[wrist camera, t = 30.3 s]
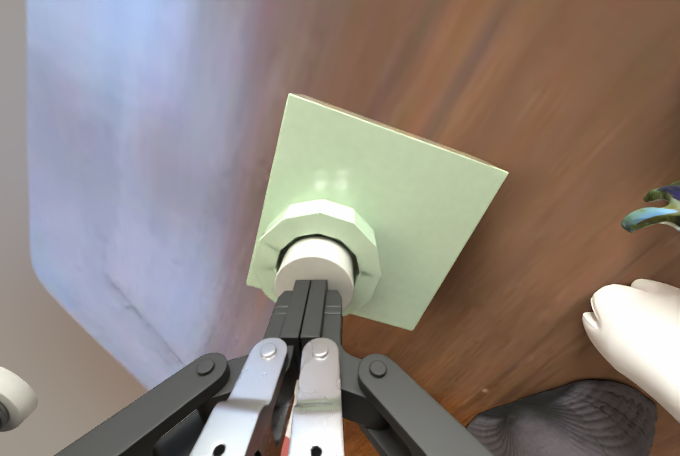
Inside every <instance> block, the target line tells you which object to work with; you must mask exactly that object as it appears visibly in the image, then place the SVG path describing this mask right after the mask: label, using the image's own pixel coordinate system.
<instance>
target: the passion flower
mask: <svg viewBox="0 0 680 456" xmlns="http://www.w3.org/2000/svg"><path fill="white" fill-rule="evenodd" d="M660 200H664V201H667V202H669V205H668V206H666V207H662V208H655V207H648V208H642V209H638V210H636V211H634V212H632V213H630V214H629V215H627V216H626V217H625V218H624V219H623V221H622V223H621V226H622V227H623V228H624V229H625V230H627V231H628V232H630V233H632V232H633V231H636V230H638V229H640V228H645V227H648V226H651V225H654V224H657V223H662V224H667V225H670V226H672V227H674V228H676V229H677V230H678V231H679V232H680V181H675V182H673V183H672V184H669V185H665V186H663V187H660V188H657V189H653V190H650V191H649V192H648V193H647V195H646V196H645V197H644V201H645V202H658V201H660Z"/></svg>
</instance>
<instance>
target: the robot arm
mask: <svg viewBox="0 0 680 456" xmlns="http://www.w3.org/2000/svg"><path fill="white" fill-rule="evenodd" d="M342 326H343V318H342V297H341V295H340V293H339V292H338V290H328V281H327V280H312V281H311V280H296V281H295V284H294V288H293V291H284V292H283V293H282V294H281V295H280V296H279V297H278V299H277V302H276V305H275V308H274V310H273V314H272V316H271V319H270V321H269V324H268V327H267V330H266V333H265V335H264V338H263V340H262V341H260V342H258V343H257V344H256V345H255V346H254V347H253V348H252V350H251V352H250V354H248V355H246V356H243V357H240V358H236V359H232V360H229V361H227V360H226V357H225V356H224V355H222V354H220V353H209V354H205V355H203V356H201V357H199V358H198V359H196V360H195V361H193V362H192V363H190V364H189V365H187V366H186V367H184V368H183V369H181V370H180V371H178V372H177V373H175V374H174V375H172V376H171V377H169V378H168V379H166V380H165V381H163V382H162V383H161V384H159V385H158V386H156V387H155V388H153V389H152V390H150V391H149V392H147V393H146V394H144V395H143V396H141V397H140V398H138V399H137V400H135V401H134V402H132V403H131V404H129V405H128V406H127V407H125V408H124V409H122V410H121V411H119V412H118V413H116V414H115V415H113V416H112V417H110V418H109V419H107V420H106V421H104V422H103V423H101V424H100V425H98V426H97V427H95V428H94V429H92V430H91V431H90V432H88V433H87V434H85V435H84V436H82V437H81V438H79V439H78V440H76V441H75V442H74V443H72V444H70V445H69V446H67V447H66V448H64V449H63V450H62V451H60V452H58V453H57V454H56V455H54V456H281V451H282V446H283V442H284V439H285V435H286V431H287V427H288V423H289V419H290V415H291V411H292V407H293V403H294V399H295V394H294V391H295V386H296V381H297V380H299V387H298V397H297V404H296V405H295V406H294V409H293V415H292V424H291V433H290V443H289V452H288V456H344V442H343V422H342V417H343V418H345V419H348V420H350V421H353V422H355V423H358V424H359V426H360V428H361V430H362V431H363V433H364V434H365V436H366V437H367V438H368V440H369V441H370V442H371V444H372V445H373V446H374V448H375V449H376V450H377V452H378V453H379V454H380V456H494V455H493V454H492V453H491V452H490V451H489V450H488V449H487V448H486V447H485V446H484V445H483V444H482V443H481V442H479V441H478V440H477V439H476V438H475V437H474V436H473V435H472V434H471V433H470V432H469V431H468V430H467V429H466V428H464V427H463V426H462V425H461V424H460V423H459V422H458V421H457V420H456V419H455V418H454V417H453V416H452V415H451V414H449V413H448V412H447V411H446V410H445V409H444V408H443V407H442V406H441V405H440V404H439V403H438V402H437V401H435V400H434V399H433V398H432V397H431V396H430V395H429V394H428V393H427V392H426V391H425V390H424V389H423V388H422V387H420V386H419V385H418V384H417V383H416V382H415V381H414V380H413V379H412V378H411V377H410V376H409V375H408V374H407V373H405V372H404V371H403V370H402V369H401V368H400V367H399V366H398V365H397V364H396V363H395V362H394V361H393V360H391V359H390V358H389V357H387V356H385V355H381V354H371V355H368V356H366V357H364V358H363V359H359V358H356V357H353V356H351V355H349V354H348V353H347V352H345V350H344V349H343V348H342ZM195 409H197V410H195ZM194 410H195V411H194ZM193 411H194V412H193ZM192 412H193V413H192ZM190 413H192V414H190ZM189 414H190V415H189ZM188 415H189V416H188ZM187 416H188V417H187ZM186 417H187V418H186ZM184 418H185V419H184ZM9 419H10V414H9V411H8V410H7V408H6V407H5V406H4V404H3V403H2V402H0V429H1V428H2V427H3V426H4V425H5V424H7V423H8V421H9ZM183 419H184V420H183ZM182 420H183V421H182ZM181 421H182V422H181ZM179 422H180V423H179ZM178 423H179V424H178ZM177 424H178V425H177ZM176 425H177V426H176ZM174 426H175V427H174ZM173 427H174V428H173ZM172 428H173V429H172ZM170 429H172V430H170ZM169 430H170V431H169ZM168 431H169V432H168ZM167 432H168V433H167ZM166 433H167V434H166ZM164 434H166V435H164ZM163 435H164V436H163ZM162 436H163V437H162ZM161 437H162V438H161Z"/></svg>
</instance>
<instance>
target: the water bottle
mask: <svg viewBox="0 0 680 456" xmlns="http://www.w3.org/2000/svg"><path fill="white" fill-rule="evenodd" d="M591 305H592V309H593V311H594V312H585V313H583V316H582V322H583V325H584V328H585V331H586V333H587V335H588V337H589V339H590V340H591V342H592V343H593V345H594V346H595V348H596V349H597V350H598V351H599V352H600V354H601V355H602V356H603V357H604V358H605V359H606V360H607V361H608V362H609V363H610V364H611V365H612V366H613V367H614V368H615V369H616V370H617V371H618V372H620V373H621V374H623V375H624V376H626V377H627V378H629V379H630V380H631V381H633V382H634V383H635V384H636V385H638V386H639V387H640V388H642V389H643V390H644V391H645V392H646V393H648V394H649V395H650V396H651V397H652V398H654V399H655V400H656V401H657V402H658V403H659V404H660V405H661V406H662V407H664V408H665V409H666V410H667V411H668V412H669V413H670V414H671V415H672V416H673V417H674V418H675V419H676V420H677V421H678V422H679V423H680V289H679V288H676V287H674V286H671V285H668V284H665V283H661V282H657V281H652V280H646V279H637V280H635V281H634V282H633V283H632V284H631V287H629V286H624V285H618V284H612V285H608V286H604V287H602V288H601V289H599V290H598V291H597V292H595V293H594V295H593V296H592V298H591Z"/></svg>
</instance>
